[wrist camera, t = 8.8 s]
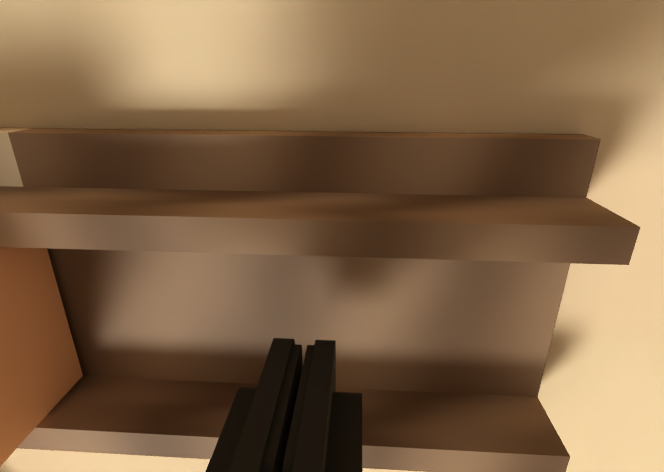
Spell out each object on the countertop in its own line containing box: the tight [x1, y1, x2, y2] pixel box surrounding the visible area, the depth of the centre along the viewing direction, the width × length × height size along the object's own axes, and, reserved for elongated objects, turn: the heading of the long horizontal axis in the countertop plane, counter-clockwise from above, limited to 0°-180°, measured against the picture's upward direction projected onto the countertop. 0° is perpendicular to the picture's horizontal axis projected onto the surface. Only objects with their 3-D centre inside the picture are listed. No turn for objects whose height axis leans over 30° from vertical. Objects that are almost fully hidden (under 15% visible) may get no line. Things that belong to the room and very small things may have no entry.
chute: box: [0, 128, 640, 472], centre depth 14 cm, size 25×12×4 cm, turn 90°
